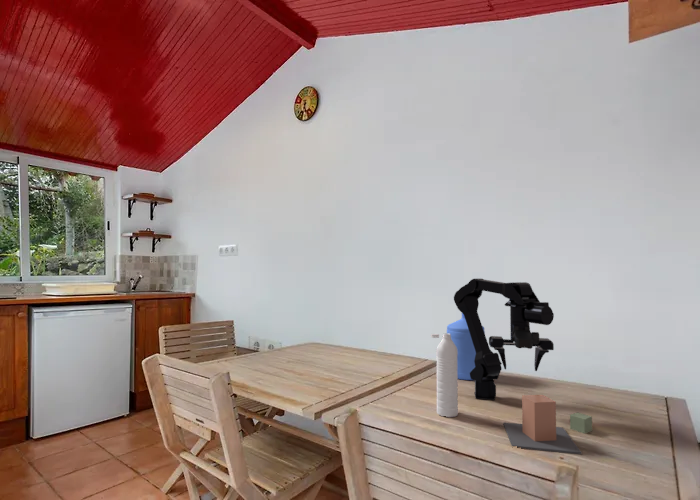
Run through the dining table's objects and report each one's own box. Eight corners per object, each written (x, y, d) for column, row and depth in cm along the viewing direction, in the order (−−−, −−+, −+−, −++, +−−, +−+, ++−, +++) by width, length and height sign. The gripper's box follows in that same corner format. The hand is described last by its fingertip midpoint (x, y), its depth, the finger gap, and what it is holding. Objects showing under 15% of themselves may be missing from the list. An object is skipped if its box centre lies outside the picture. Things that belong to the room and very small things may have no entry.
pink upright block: (522, 432, 113) (522, 395, 113) (542, 431, 113) (542, 394, 114) (534, 441, 107) (534, 402, 107) (556, 440, 107) (555, 401, 108)
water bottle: (450, 409, 132) (450, 331, 133) (462, 416, 126) (461, 334, 127) (426, 412, 129) (426, 332, 130) (437, 419, 123) (436, 336, 124)
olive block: (570, 429, 117) (570, 414, 117) (577, 426, 119) (577, 412, 119) (584, 434, 113) (584, 419, 113) (592, 430, 115) (591, 416, 115)
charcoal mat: (512, 447, 104) (512, 445, 104) (503, 424, 120) (503, 422, 120) (581, 454, 100) (581, 452, 101) (562, 429, 116) (562, 427, 116)
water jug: (479, 382, 162) (479, 312, 163) (441, 377, 171) (441, 309, 172) (489, 374, 176) (488, 309, 177) (453, 369, 184) (453, 306, 185)
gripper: (492, 323, 126) (492, 374, 126) (558, 325, 122) (558, 378, 121) (488, 319, 137) (488, 366, 136) (548, 320, 133) (549, 369, 132)
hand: (520, 369), depth 131 cm, fingers open, 9 cm apart
